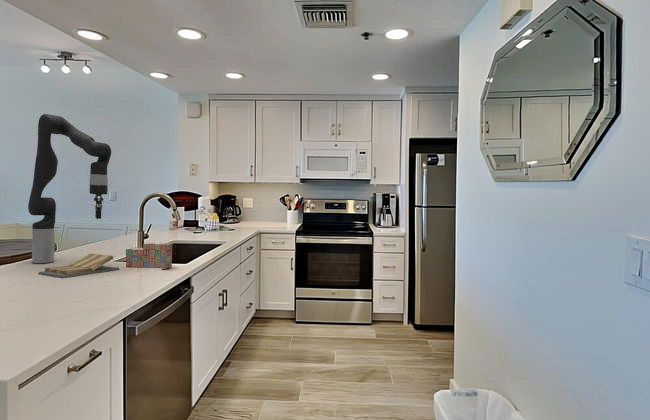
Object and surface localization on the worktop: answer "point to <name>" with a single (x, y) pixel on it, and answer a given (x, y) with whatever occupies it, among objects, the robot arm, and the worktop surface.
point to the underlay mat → (98, 270)
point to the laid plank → (68, 269)
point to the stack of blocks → (150, 256)
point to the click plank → (92, 261)
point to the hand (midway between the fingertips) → (98, 218)
